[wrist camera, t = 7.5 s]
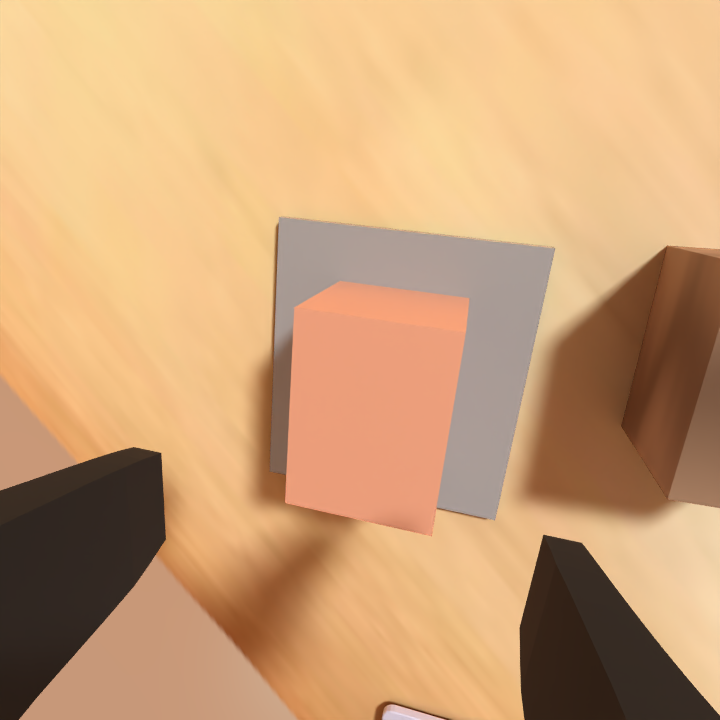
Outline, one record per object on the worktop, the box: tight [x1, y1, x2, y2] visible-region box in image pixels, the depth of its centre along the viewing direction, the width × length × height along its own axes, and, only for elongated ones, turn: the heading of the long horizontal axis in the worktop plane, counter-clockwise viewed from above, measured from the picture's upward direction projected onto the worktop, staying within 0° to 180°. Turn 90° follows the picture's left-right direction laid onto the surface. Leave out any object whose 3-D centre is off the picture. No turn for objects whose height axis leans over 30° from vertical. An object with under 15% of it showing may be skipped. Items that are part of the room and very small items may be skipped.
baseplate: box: [270, 217, 555, 520], centre depth 18 cm, size 10×9×1 cm
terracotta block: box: [285, 281, 470, 536], centre depth 15 cm, size 6×4×4 cm
